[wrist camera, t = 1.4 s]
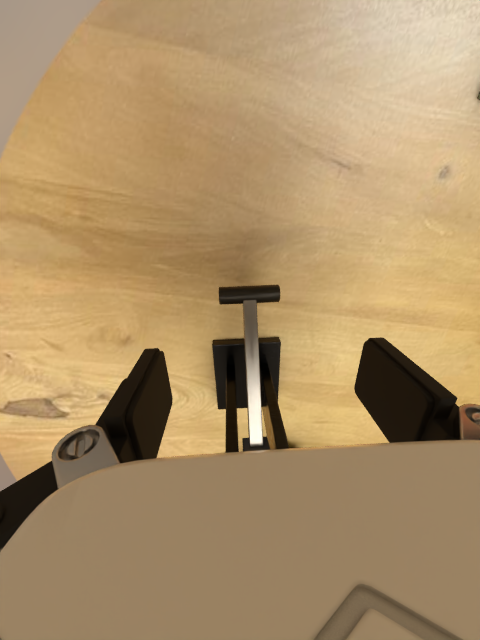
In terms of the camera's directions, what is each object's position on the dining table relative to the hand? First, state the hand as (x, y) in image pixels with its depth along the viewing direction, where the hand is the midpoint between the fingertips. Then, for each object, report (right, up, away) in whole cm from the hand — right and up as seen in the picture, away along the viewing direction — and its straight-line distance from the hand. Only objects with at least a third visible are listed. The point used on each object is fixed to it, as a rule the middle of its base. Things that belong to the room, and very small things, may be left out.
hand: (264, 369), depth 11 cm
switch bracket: (0, -4, +20) cm, 20 cm away
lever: (0, -3, +10) cm, 10 cm away
